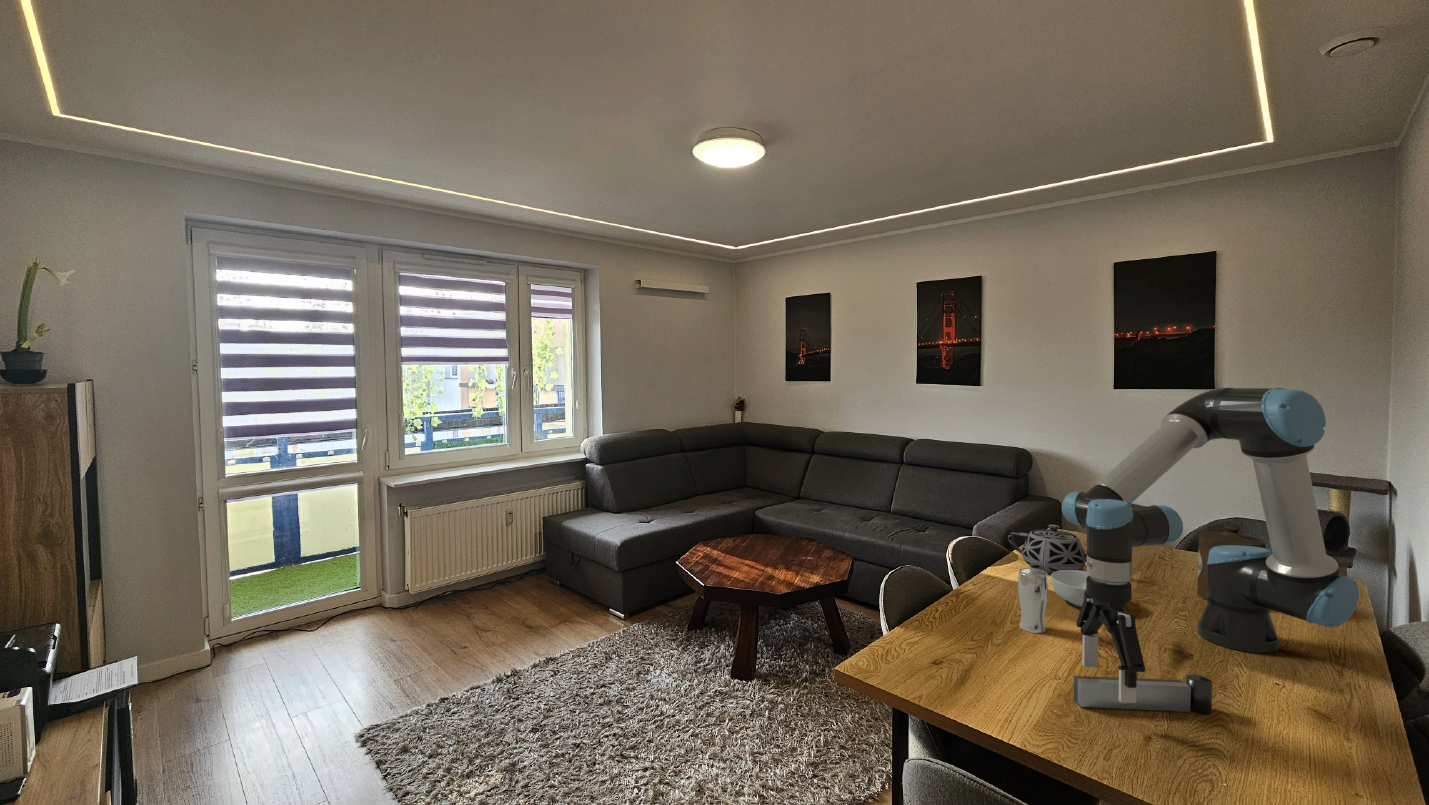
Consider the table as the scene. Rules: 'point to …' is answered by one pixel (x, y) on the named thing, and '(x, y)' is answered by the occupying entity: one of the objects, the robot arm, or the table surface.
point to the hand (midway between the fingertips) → (1107, 683)
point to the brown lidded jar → (1219, 539)
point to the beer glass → (1032, 599)
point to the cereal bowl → (1070, 585)
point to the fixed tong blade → (1198, 684)
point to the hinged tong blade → (1147, 695)
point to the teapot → (1051, 550)
